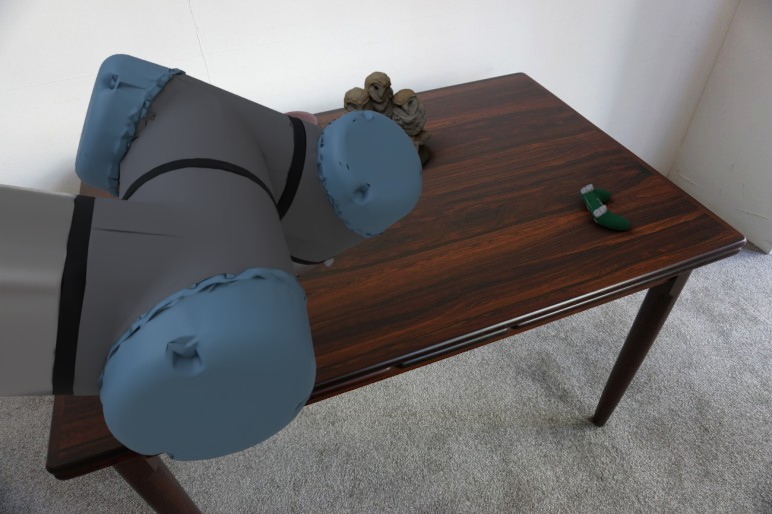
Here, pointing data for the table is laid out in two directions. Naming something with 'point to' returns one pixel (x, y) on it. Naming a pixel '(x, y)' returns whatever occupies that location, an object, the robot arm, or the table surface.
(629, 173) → the table surface
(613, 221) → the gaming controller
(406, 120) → the owl figurine
